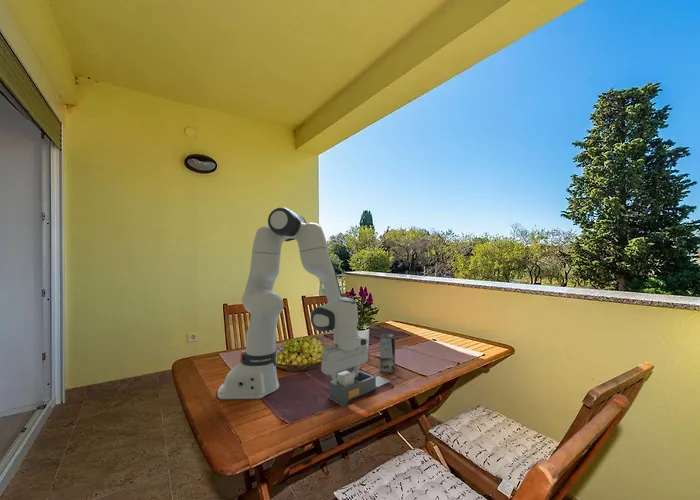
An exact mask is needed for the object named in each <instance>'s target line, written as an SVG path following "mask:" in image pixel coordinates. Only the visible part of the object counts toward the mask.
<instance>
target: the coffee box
mask: <svg viewBox="0 0 700 500" xmlns="http://www.w3.org/2000/svg"><path fill="white" fill-rule="evenodd" d="M379 341H380V342H379V344H380V346H379V348H380V349H379V356H380V357H379V371H380V372H383V373H385V372H386V373H395V370H396V334H395V333H385V332H384V333H381V335H380V339H379Z"/></svg>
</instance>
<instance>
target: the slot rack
mask: <svg viewBox="0 0 700 500" xmlns="http://www.w3.org/2000/svg"><path fill="white" fill-rule="evenodd" d="M389 382H390V383H391V380H390V379H387V378H384V377H382V376H379V375H377V376H375V375H372V374H370V373H368V372H365V371H362V370H359V371H358V377H355V378H354V384H352V385H350V386H347V387H343V386H341V385H339V384H336V385H334V384H333V380H331V381H329V389H328V390H329V392H328V393H329V395H327V398H328V400H330V401H332V400H333V403H335V402H336V404H337V403H338V404H337V405H339V404H340V406H341V407H343V408H346V407H348V406H351V405H353V403H352V402H351V400H354V399H356V398H358V397H360V396H363V395H365V394H368V393H370V392H372V391H374V390H376V389H377V388H379V387H381V386H383V385H385V384H387V383H389Z"/></svg>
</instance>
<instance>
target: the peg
mask: <svg viewBox="0 0 700 500" xmlns="http://www.w3.org/2000/svg"><path fill="white" fill-rule="evenodd" d="M336 378H337V379H339V385H341V386H343V387H347V386H350V385H352V384H354V374H353V373H352V372H350V371H348V370H342V371H340V372H337V375H336Z"/></svg>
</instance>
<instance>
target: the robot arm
mask: <svg viewBox="0 0 700 500" xmlns="http://www.w3.org/2000/svg"><path fill="white" fill-rule="evenodd" d="M293 240H294V241H296V242H297V244H298V245H297V246H298V250H299V258H300V262H301V265H302V268H303V269H304V270H305V271H306V272H308V274H311V275H313V276H315V277H316V278H318V279H319V280H320V281H321V283H322V285H323V289H324V292H325V296H326V301H327V303H325V304H322V305H318V306H316V307H315V308H313V310H312V311H311V312H310V323H311V326H312V328H314V330H316V331H318V332H330V331H332V332H333V345H332V344H331V346H329V345H328V346H326V347H325V349H324V350H323V351H322V358H321V364H320V365H321V367H320V368H321V372H322V373H323V374H324V375H326V376H330V377H331V379H332V381H333V384H334V385H336V384H339V379H337V373H340V372H343V371H346V370H348V369H352V368H354V369H353V370H352V372H351V373H353V374H354V378H355V377H358V371H360V368H361V365H363V364H366V363H367V362H368V359H369V347H368V343H369V339H368V338H365V337H362V336H359V332H358V328H357V327H358V324H359V314H358V313H359V311H358V310H359V309H358V305H357V302H356V300H355V299H354V298H351V297H346V296H343V295H342V291H341V287H340V284H339V279H338V276H337V273H336V270H335V268H334V265H333V263H332V261H331V258H330V254H329V253H330V252H329V248H328V243H327V239H326V236H325V234H324V231H323V228H322V227H321V225H320V224H319V223H316V222H307V221H306V219H305V218H304V217H303V216H302V215H300V213H298V212H296V211H294V210H291V209H290V208H287V207H277V208H275V209H273V210H271V211H270V213H269V215H268V217H267V225H264V226H261V227H259V228H258V229H257V230H256V232H255V236H254V239H253V244H252V251H251V259H250V260H251V261H250V267H249V274H248V277H247V278H248V279H247V282H246V286H245V289H244V293H243V295H242V296H241V304H242V306H243V307H244V309H245V311H247V312H248V313H250V320H249V325H248V329H247V331H246V333H245V334H246V335H245V336H246V337H245V338H246V339H245V340H246V341H245V342H246V343H245V347H246V348H245V350H242V351H241V352H240V353H239V354H240V362H239V363H238V364H237V365H236V366H234V367H233V368H231V370H229V372H227V374H226V376H225V379H224V382H223V383H222V384H221V385H220V386H219V388H218V390H217V397H218V399H220V400H256V399H257V400H259V399H260V400H261V399H263V398H264V397H265V396H267V395H269V394H272V393H274V392H276V391H277V390H278V389H279V388H280V383H279V380H278V379H279V378H278V375H277V368H276V367H277V363H278V360H277V359H278V358H277V356H278V353H277V350H276V335H277V334H276V333H277V325H278V321H279V318H280V314H281V313H282V312H283V310H284V301H283V299H282V297H281V296H280V295H279V294H278V293H277V292H276V291H274V290H273V288H274V285H275V281H276V279H277V277H278V276H279V273H280V264H281V262H280V261H281V255H282V254H281V251H282V245H283V243H284V242H290V241H293Z"/></svg>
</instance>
